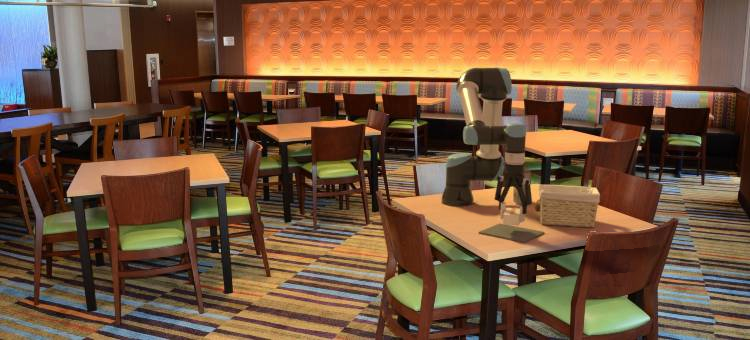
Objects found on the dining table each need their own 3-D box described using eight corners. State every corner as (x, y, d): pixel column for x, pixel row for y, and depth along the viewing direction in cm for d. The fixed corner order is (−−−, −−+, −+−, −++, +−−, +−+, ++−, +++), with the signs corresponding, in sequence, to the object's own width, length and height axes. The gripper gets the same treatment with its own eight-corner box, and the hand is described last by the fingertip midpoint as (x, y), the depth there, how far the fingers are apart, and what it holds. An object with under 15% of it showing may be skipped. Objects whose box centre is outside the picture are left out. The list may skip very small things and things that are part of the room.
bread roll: (539, 220, 293) (545, 206, 289) (528, 206, 301) (533, 192, 296) (558, 218, 297) (563, 205, 292) (546, 204, 305) (551, 191, 300)
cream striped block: (506, 217, 265) (506, 207, 265) (521, 218, 264) (521, 208, 263) (502, 224, 254) (503, 213, 253) (518, 225, 252) (519, 215, 252)
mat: (478, 233, 260) (478, 231, 260) (499, 224, 273) (499, 223, 272) (524, 242, 247) (524, 241, 247) (544, 233, 260) (544, 231, 260)
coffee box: (512, 200, 317) (513, 167, 314) (525, 200, 317) (527, 167, 314) (516, 204, 308) (517, 171, 305) (529, 204, 308) (531, 171, 305)
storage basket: (594, 219, 282) (596, 186, 279) (598, 229, 266) (601, 194, 264) (537, 216, 287) (538, 183, 284) (538, 226, 271) (540, 191, 268)
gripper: (486, 161, 258) (484, 217, 262) (534, 167, 245) (531, 226, 249) (495, 159, 264) (493, 214, 268) (543, 164, 251) (540, 222, 255)
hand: (512, 220), depth 259 cm, fingers closed on cream striped block, 8 cm apart
